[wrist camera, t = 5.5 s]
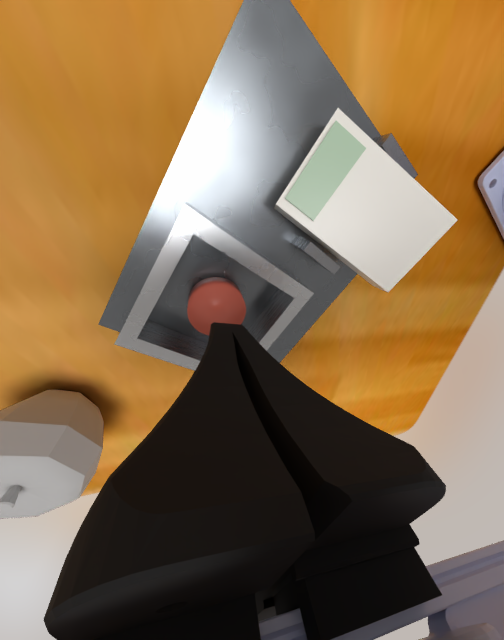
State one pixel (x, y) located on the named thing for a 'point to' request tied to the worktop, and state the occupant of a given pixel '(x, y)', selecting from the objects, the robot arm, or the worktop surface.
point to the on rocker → (363, 205)
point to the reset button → (215, 304)
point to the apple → (47, 452)
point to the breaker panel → (241, 196)
